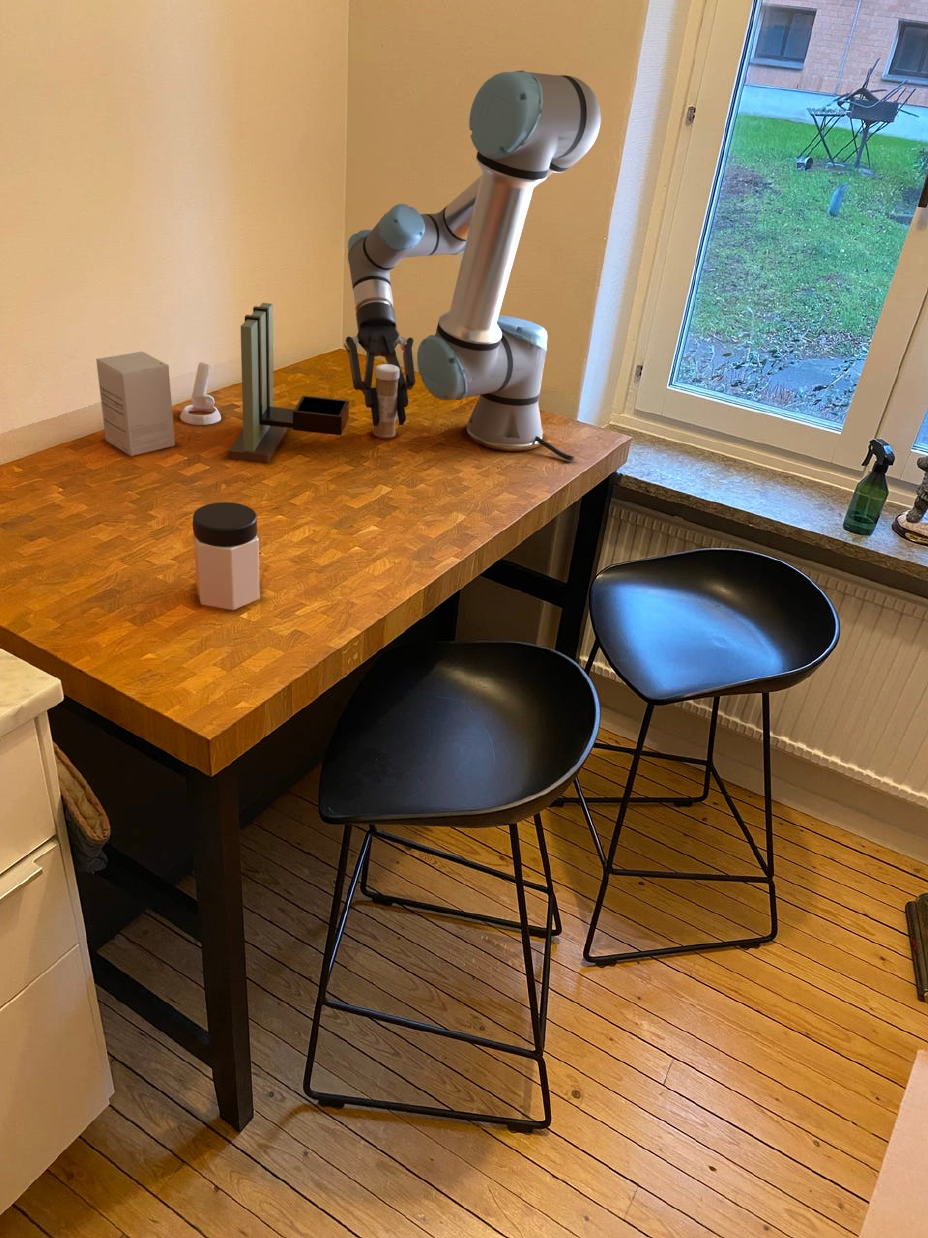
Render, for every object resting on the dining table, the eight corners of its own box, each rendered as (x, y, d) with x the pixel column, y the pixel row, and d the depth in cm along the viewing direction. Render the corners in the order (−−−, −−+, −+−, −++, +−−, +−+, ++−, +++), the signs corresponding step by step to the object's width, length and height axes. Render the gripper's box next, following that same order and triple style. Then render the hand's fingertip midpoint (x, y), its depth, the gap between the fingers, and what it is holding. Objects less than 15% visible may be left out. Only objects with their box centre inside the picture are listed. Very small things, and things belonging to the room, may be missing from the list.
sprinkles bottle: (390, 429, 185) (394, 362, 178) (399, 438, 182) (403, 370, 175) (368, 431, 184) (371, 363, 176) (377, 440, 180) (380, 371, 173)
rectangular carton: (149, 430, 173) (143, 349, 165) (176, 446, 168) (170, 364, 160) (103, 440, 167) (94, 357, 159) (129, 457, 162) (121, 372, 155)
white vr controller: (226, 378, 186) (230, 368, 179) (216, 436, 185) (220, 428, 178) (187, 368, 184) (190, 358, 177) (177, 428, 183) (179, 419, 176)
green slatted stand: (287, 428, 181) (287, 304, 168) (267, 462, 166) (266, 329, 154) (251, 424, 181) (249, 300, 168) (228, 458, 166) (223, 324, 154)
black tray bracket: (348, 418, 175) (352, 315, 165) (341, 435, 167) (344, 329, 157) (257, 408, 174) (255, 304, 164) (246, 424, 167) (243, 317, 157)
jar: (235, 572, 133) (232, 495, 127) (273, 594, 129) (272, 516, 123) (182, 593, 127) (176, 513, 121) (219, 617, 123) (216, 536, 117)
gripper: (413, 320, 188) (428, 429, 184) (327, 319, 183) (341, 431, 179) (422, 300, 181) (438, 413, 177) (333, 298, 176) (347, 414, 172)
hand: (389, 422), depth 178 cm, fingers closed on sprinkles bottle, 4 cm apart
